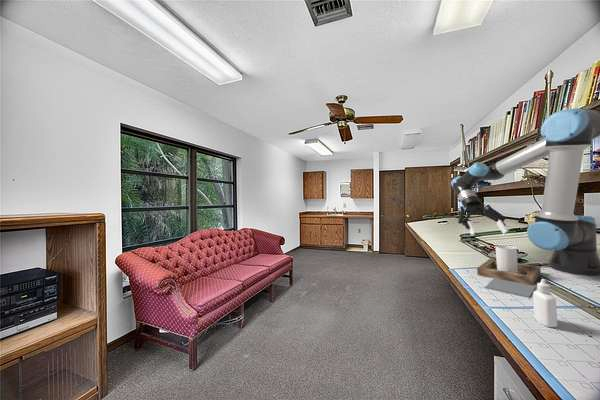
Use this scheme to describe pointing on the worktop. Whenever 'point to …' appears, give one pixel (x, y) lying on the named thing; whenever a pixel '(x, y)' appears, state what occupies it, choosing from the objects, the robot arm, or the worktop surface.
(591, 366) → the worktop surface
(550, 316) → the eye dropper bottle
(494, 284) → the rubber mat
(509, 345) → the worktop surface
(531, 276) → the walnut collar
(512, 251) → the mug
